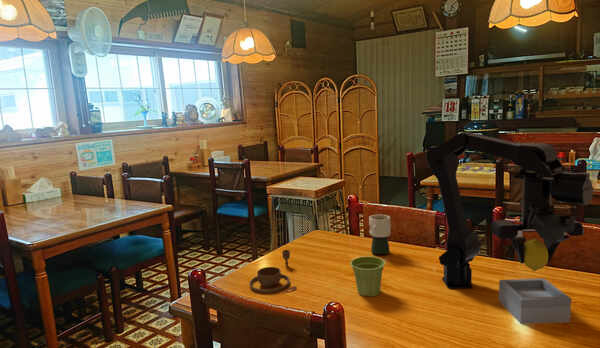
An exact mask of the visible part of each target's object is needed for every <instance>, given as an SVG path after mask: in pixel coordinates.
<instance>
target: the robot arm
mask: <svg viewBox="0 0 600 348" xmlns="http://www.w3.org/2000/svg"><path fill="white" fill-rule="evenodd" d="M467 150H472V151H475V152H479V153H483V154H487V155H491V156H494V157H499V158H502V159H505V160H507V161H510V162H511V163H513V164H514V166H518V167H519V168H520V169H519V171H517V172H516V173H515V174H514V175H512V177H513V179H519V180H522V200H519V205H520V206H522V208H521V211H522V212H521V216H519V218H518V219H519V220H518V221H519V223H516V224H515V223H513V222H511V220H510V221H509V220H508V219H507V220H506V219H504V220H500V219H499V220H493V221H491V223H490V227H489V229H490V232H491V234H493V235H495V236H496V237H498V239H503V240H504V239H509V241H510V243H511V245H512V247H513V250H514V252H515V255H516V256H517V259H518V261H519V263H520V264H523V265H524V244H525V243H526V242H527V238H525V237H524V236H523V235H524V234H523V233H533V232H535V233H537V234H538V236H539V238H541V239H542V240H543V243H544V244H545V246H546V247H547V250H548V262H547V264H549V263H550V262H551V260H552V258H553V256H554V254H555V252H556V250H557V248H558V247H559V246H560V244H561V243H562V242H564V241H565V240H569V239H570V238H571V237H582V236H584V232H585V227H584V226H583V224H582V223H581V222H580V221H578V220H576V219H575V218H574V217H573V216H572V215H571V214H565V215H564V214H563V215H560V214H559V215H557V213H556V212H555V211H556V207H555V205H554V204H552V199H554V200H555V201H556V202H559V203H565V204H566V203H567V204H572V205H573V204H574V205H580V206H581V205H582V206H589V205H590V203H591V201H592V200H593V199H592V198H593V196H594V186H593V183H592V179H590V175H591V174H590V173H589V172H569V171H568V170H567V168H566V167H565V166H564V165H563V163H562V162H561V161H560V159H559V158H558V157H557V156H558V154H557V151H556V150H555V148H554V146H553V145H551V144H549V143H537V142H514V141H509V140H506V139H501V138H500V139H499V138H495V137H491V136H487V135H482V134H478V133H474V132H472V131H464V132H463V131H462V132H461V131H460V132H459V133H457V134H455V135H454V136H452V137H451V138H449V139H448V140H445V141H444V142H442V143H440V144H438V145H437V146H432V147H430V148H429V149H428V150H427V153H426V154H425V160H426V163H427V166H428V168H429V171H430V172H431V173H432V174H433V175H434V177H435V178H436V179H437V184H438V188H439V191H440V195H441V200H442V206H443V209H444V214H445V218H446V222H447V226H448V232H447V237H446V251H444V252H443V253H442V254H441V255H439V256H438V260H439V264H440V265H442V266H443V277H441V280H442V282H443V283H444V284H445V286H446V287H447V289H471V288H472V286H473V285H472V274H473V273H472V272H473V271H472V268H471V265H470V262H473V261H474V259H475V258H474V257H476V256H478V254H479V253H480V247H481V246H482V244H481V242H480V240H479V239H480V238H479V233H478V231H472V230H471V229H470V228H469V226H468V223H467V217H466V214H465V210H464V209H465V208H464V204H463V200H462V196H461V192H460V188H459V184H458V179H457V173H458V168H459V157H460V156H461V155H463V154H464V153H465V152H466V151H467Z"/></svg>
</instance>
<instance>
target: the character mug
mask: <svg viewBox="0 0 600 348" xmlns="http://www.w3.org/2000/svg"><path fill="white" fill-rule="evenodd" d="M368 220H369V221H368V224H369V231H368V233H369V235H370V236H372V241H371V249H370V250H371V253H372V254H376V255H377V254H378V255H386V254H389V253H390V244H389V239H388V237H389V236H390V235H391V217H390V215H387V214H372V215H370V216H368Z"/></svg>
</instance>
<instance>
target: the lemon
mask: <svg viewBox="0 0 600 348" xmlns="http://www.w3.org/2000/svg"><path fill="white" fill-rule="evenodd" d="M547 262H548V250H547V247H546V246H545V244H544V242H542V241H541V240H539V239H537V238H533V239H529V240H526V241H525V243H524V263H523V265H525V266H526V267H527V268H529V269H530V270H532V272H536V271H537V270H541V269H543V268H545V266H546V265H547V264H548V263H547Z"/></svg>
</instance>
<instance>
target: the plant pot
mask: <svg viewBox="0 0 600 348" xmlns="http://www.w3.org/2000/svg"><path fill="white" fill-rule="evenodd" d="M385 265H386V261H385V260H384V259H382V258H380V257H377V256H369V255H367V256H359V257H355V258H353V259H352V260H351V261H350V266H351V267H352V270H353V273H354V279H355V283H356V290H357V293H358V294H359V295H361V296H362V297H365V296H368V297H376V296H377V295H379V294H380V292H381V286H382V277H383V276H382V275H383V270H384V267H385Z"/></svg>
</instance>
